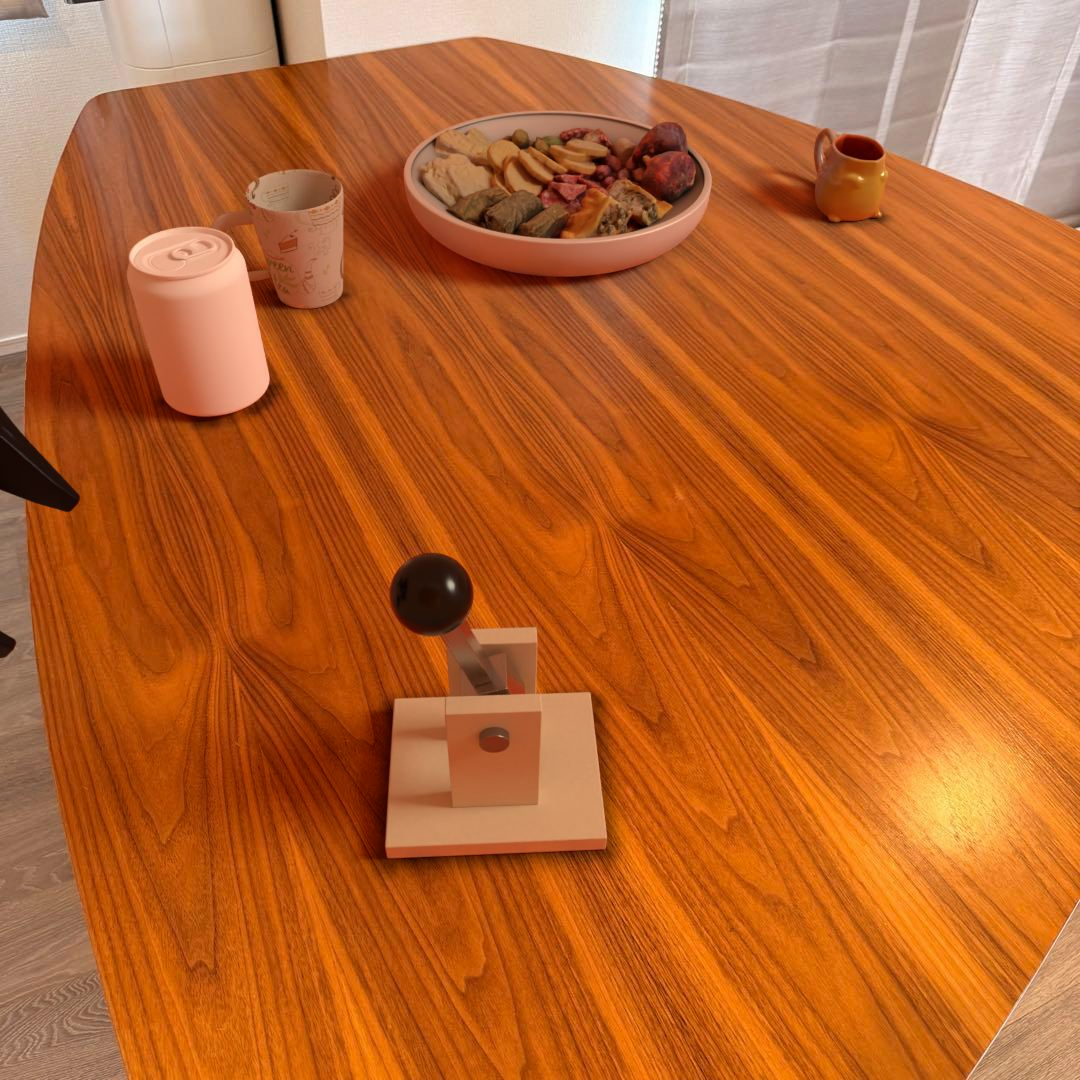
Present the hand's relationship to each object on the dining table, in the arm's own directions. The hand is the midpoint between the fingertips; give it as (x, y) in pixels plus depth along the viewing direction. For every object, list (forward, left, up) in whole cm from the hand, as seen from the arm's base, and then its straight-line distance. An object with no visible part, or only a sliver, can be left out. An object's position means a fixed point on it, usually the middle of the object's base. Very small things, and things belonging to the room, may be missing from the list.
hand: (45, 572), depth 45 cm
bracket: (+16, -13, -13) cm, 24 cm away
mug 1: (+25, +39, -13) cm, 48 cm away
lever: (+14, -12, -2) cm, 18 cm away
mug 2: (+82, +29, -13) cm, 88 cm away
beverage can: (+15, +28, -13) cm, 34 cm away
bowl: (+54, +40, -13) cm, 68 cm away
